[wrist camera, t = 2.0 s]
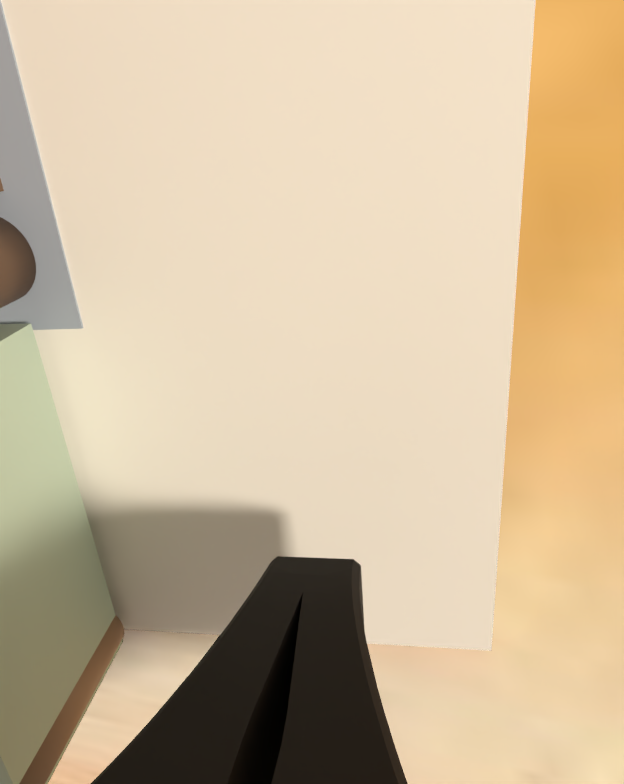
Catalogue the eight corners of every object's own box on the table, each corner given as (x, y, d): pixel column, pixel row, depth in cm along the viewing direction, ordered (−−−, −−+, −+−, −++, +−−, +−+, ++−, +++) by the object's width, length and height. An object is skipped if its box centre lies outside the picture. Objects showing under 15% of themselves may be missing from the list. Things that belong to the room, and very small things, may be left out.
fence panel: (-31, 325, 10) (-236, 428, 7) (36, 323, 10) (-144, 429, 6) (76, 644, 13) (-30, 818, 10) (129, 647, 13) (38, 826, 10)
